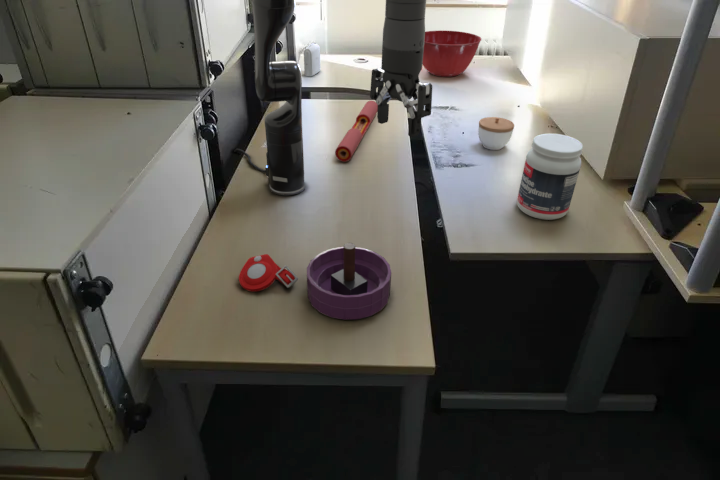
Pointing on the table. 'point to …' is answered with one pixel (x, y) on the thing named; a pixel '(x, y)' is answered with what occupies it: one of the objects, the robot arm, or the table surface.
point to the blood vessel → (356, 132)
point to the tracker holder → (264, 274)
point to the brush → (348, 275)
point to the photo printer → (311, 59)
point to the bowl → (348, 305)
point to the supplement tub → (550, 176)
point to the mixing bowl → (449, 52)
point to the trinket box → (495, 132)
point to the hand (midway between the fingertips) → (397, 129)
